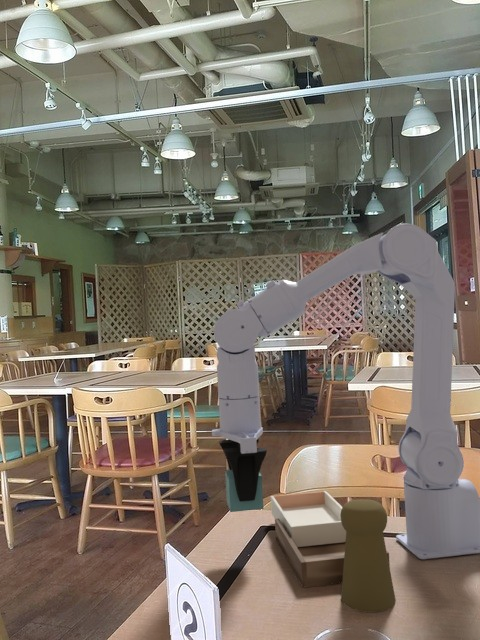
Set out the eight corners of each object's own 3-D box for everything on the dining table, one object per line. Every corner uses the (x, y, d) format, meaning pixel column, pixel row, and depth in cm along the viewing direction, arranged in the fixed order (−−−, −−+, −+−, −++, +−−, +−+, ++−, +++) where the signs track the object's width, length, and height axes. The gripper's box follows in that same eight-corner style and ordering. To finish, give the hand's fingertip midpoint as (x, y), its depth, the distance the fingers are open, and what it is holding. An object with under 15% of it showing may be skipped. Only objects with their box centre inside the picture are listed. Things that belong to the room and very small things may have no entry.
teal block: (258, 499, 82) (256, 467, 82) (263, 508, 77) (261, 475, 77) (226, 502, 81) (225, 470, 81) (230, 512, 77) (228, 478, 77)
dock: (347, 531, 86) (346, 511, 86) (390, 577, 70) (388, 552, 70) (275, 539, 85) (274, 518, 85) (302, 587, 68) (301, 562, 69)
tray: (326, 508, 94) (325, 490, 94) (357, 540, 79) (356, 520, 79) (271, 513, 92) (270, 496, 92) (292, 547, 78) (291, 527, 78)
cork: (397, 613, 61) (391, 510, 62) (340, 610, 63) (334, 510, 63) (394, 587, 67) (388, 494, 67) (341, 585, 68) (336, 493, 69)
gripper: (206, 393, 86) (211, 483, 86) (215, 405, 72) (220, 514, 72) (252, 390, 87) (257, 479, 87) (270, 401, 73) (276, 508, 73)
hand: (244, 494), depth 79 cm, fingers closed on teal block, 4 cm apart
